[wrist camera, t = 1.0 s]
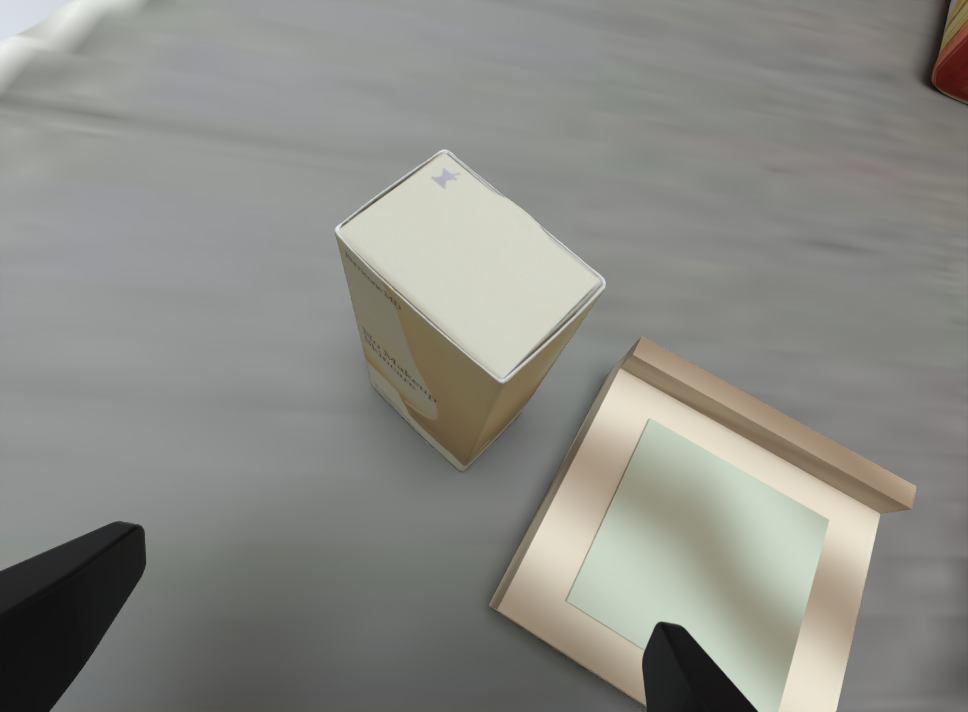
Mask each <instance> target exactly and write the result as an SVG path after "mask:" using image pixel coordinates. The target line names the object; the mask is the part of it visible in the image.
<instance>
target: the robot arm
mask: <svg viewBox="0 0 968 712" xmlns="http://www.w3.org/2000/svg"><path fill="white" fill-rule="evenodd" d="M145 566H146V548H145V532H144V529H143V527H142V526H141V525H139V524H133V523H128V522H122V521H117V522H113V523H110V524H108V525H106V526H103V527H101V528H99V529H97V530H94V531H92V532H90V533H87V534H85V535H83V536H80V537H78V538H76V539H73V540H71V541H69V542H67V543H64V544H62V545H60V546H57V547H55V548H53V549H50V550H48V551H46V552H43V553H41V554H39V555H36V556H34V557H32V558H30V559H27V560H25V561H23V562H20V563H18V564H16V565H13V566H11V567H9V568H6V569H4V570H2V571H0V712H50V710H51V709H52V708H53V706H54V705H55V704H56V702H57V701H58V700H59V699H60V697H61V696H62V695H63V693H64V692H65V691H66V689H67V688H68V687H69V686H70V684H71V683H72V682H73V680H74V679H75V678H76V676H77V675H78V674H79V672H80V671H81V670H82V668H83V667H84V665H85V664H86V662H87V661H88V659H89V658H90V656H91V655H92V654H93V652H94V651H95V649H96V647H97V646H98V644H99V643H100V641H101V640H102V638H103V636H104V635H105V633H106V632H107V630H108V629H109V627H110V625H111V624H112V622H113V621H114V619H115V618H116V616H117V614H118V613H119V611H120V610H121V608H122V607H123V605H124V603H125V602H126V600H127V599H128V597H129V596H130V594H131V592H132V591H133V589H134V588H135V586H136V585H137V583H138V582H139V580H140V578H141V577H142V575H143V572H144V570H145ZM642 673H643V681H644V690H645V698H646V707H647V712H758V710H757V709H756V708H755V707H754V706H753V705H752V704H751V702H750V701H749V700H748V699H747V698H746V697H745V696H744V695H743V693H742V692H741V691H740V690H739V689H738V688H737V687H736V685H735V684H734V683H733V682H732V681H731V680H730V679H729V678H728V676H727V675H726V674H725V673H724V672H723V671H722V670H721V668H720V667H719V666H718V665H717V664H716V663H715V662H714V661H713V659H712V658H711V657H710V656H709V655H708V654H707V653H706V651H705V650H704V649H703V648H702V647H701V646H700V645H699V644H698V642H697V641H696V640H695V639H694V638H693V637H692V636H691V634H690V633H689V632H688V631H687V630H686V629H685V628H684V627H683V626H681V625H679V624H674V623H669V622H663V621H660V622H658V623H657V624H656V625H655V627H654V629H653V631H652V634H651V636H650V639H649V641H648V643H647V646H646V648H645V651H644V653H643V658H642Z"/></svg>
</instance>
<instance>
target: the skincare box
mask: <svg viewBox="0 0 968 712" xmlns="http://www.w3.org/2000/svg"><path fill="white" fill-rule="evenodd" d="M335 235H336V239H337V242H338V246H339V250H340V254H341V258H342V263H343V266H344V271H345V275H346V279H347V283H348V287H349V291H350V296H351V300H352V304H353V308H354V312H355V317H356V321H357V325H358V330H359V333H360V338H361V342H362V346H363V350H364V354H365V359H366V363H367V367H368V372H369V375H370V380H371V384H372V386H373V387H374V388H375V389H376V390H377V391H378V392H379V393H380V394H381V395H382V396H383V398H384V399H385V400H386V401H387V402H388V403H389V404H390V405H391V406H392V407H393V408H394V409H395V410H396V411H397V412H398V413H399V414H400V415H401V416H402V417H403V418H404V419H405V420H406V421H407V422H408V423H409V424H410V425H411V426H412V427H413V428H414V429H415V430H416V431H417V432H418V433H419V434H420V435H421V436H422V437H423V438H424V439H425V440H427V441H428V442H429V443H430V444H431V445H432V446H433V447H434V448H435V449H436V450H437V451H439V452H440V453H441V454H442V455H443V456H444V457H445V458H446V459H447V460H448V461H449V462H451V463H452V464H453V465H454V466H455V467H456V468H457V469H458V470H460V471H464V470H466V469H467V468H468V467H469V466H470V465H471V464H472V463H473V462H474V461H475V460H476V459H477V458H478V457H479V456H480V455H481V454H482V453H483V452H484V451H485V450H486V449H487V448H488V447H489V446H490V445H491V444H492V443H493V442H494V441H495V440H496V439H497V438H498V437H499V436H500V435H501V434H502V432H503V431H504V430H505V429H506V428H507V427H508V426H509V425H510V424H511V423H512V422H513V421H514V420H515V419H516V418H517V416H518V415H519V414H520V413H521V411H522V410H523V408H524V407H525V405H526V404H527V402H528V401H529V400H530V398H531V397H532V395H533V394H534V392H535V391H536V389H537V388H538V386H539V385H540V383H541V382H542V380H543V379H544V377H545V376H546V374H547V373H548V371H549V370H550V369H551V367H552V366H553V364H554V363H555V361H556V360H557V358H558V357H559V355H560V354H561V352H562V351H563V349H564V348H565V346H566V345H567V343H568V342H569V340H570V339H571V337H572V336H573V334H574V333H575V332H576V330H577V329H578V327H579V326H580V324H581V323H582V321H583V320H584V318H585V317H586V315H587V314H588V312H589V311H590V309H591V308H592V307H593V305H594V304H595V302H596V301H597V299H598V298H599V296H600V295H601V294H602V292H603V291H604V289H605V288H606V282H605V280H604V278H603V277H602V276H601V275H600V274H599V273H597V272H596V271H595V270H593V269H592V268H591V267H590V266H588V265H587V264H586V263H585V262H584V261H583V260H581V259H580V258H579V257H578V256H576V255H575V254H574V253H573V252H571V251H570V250H569V249H568V248H567V247H566V246H564V245H563V244H562V243H561V242H560V241H558V240H557V239H556V238H555V237H553V236H552V235H551V234H550V233H548V232H547V231H546V230H545V229H544V228H543V227H542V226H541V225H540V224H538V223H537V222H536V221H535V220H534V219H533V218H532V217H531V216H530V215H529V214H528V213H526V212H525V211H524V210H523V209H522V208H520V207H519V206H517V205H516V204H515V203H513V202H512V201H510V200H509V199H508V198H506V197H505V196H503V195H502V194H501V193H500V192H498V191H497V190H496V189H495V188H493V187H492V186H491V185H490V184H489V183H487V182H486V181H485V180H484V179H482V178H481V177H480V176H479V175H477V174H476V173H475V172H474V171H473V170H471V169H470V168H469V167H468V166H467V165H465V164H464V163H463V162H462V161H460V160H459V159H458V158H457V157H456V156H454V155H453V154H452V153H451V152H450V151H448V150H444V149H443V150H441V151H439V152H438V153H436V154H435V155H434V156H432V157H431V158H430V159H429V160H427V161H426V162H424V163H422V164H421V165H419V166H418V167H417V168H415V169H414V170H412V171H411V172H409V173H408V174H406V175H405V176H403V177H402V178H401V179H399V180H398V181H397V182H395V183H394V184H392V185H391V186H389V187H388V188H387V189H385V190H384V191H382V192H381V193H379V194H378V195H377V196H375V197H374V198H373V199H371V200H370V201H368V202H367V203H366V204H364V205H363V206H362V207H361V208H359V209H358V210H357V211H356V212H354V213H353V214H352V215H351V216H350V217H348V218H347V219H346V220H344V221H343V222H341V223H340V224H339V225H338V226H337V227H336V228H335Z"/></svg>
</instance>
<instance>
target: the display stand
mask: <svg viewBox="0 0 968 712" xmlns="http://www.w3.org/2000/svg"><path fill="white" fill-rule="evenodd" d="M915 491H916V486H914V485H913V484H911V483H909V482H907V481H905V480H903V479H902V478H900V477H898V476H896V475H894V474H893V473H891V472H889V471H887V470H885V469H883V468H882V467H880V466H878V465H876V464H874V463H872V462H871V461H869V460H867V459H865V458H863V457H861V456H860V455H858V454H856V453H854V452H852V451H851V450H849V449H847V448H845V447H843V446H841V445H840V444H838V443H836V442H834V441H832V440H830V439H829V438H827V437H825V436H823V435H821V434H820V433H818V432H816V431H814V430H812V429H810V428H809V427H807V426H805V425H803V424H801V423H799V422H798V421H796V420H794V419H792V418H790V417H788V416H787V415H785V414H783V413H781V412H779V411H778V410H776V409H774V408H772V407H770V406H768V405H767V404H765V403H763V402H761V401H759V400H757V399H756V398H754V397H752V396H750V395H748V394H747V393H745V392H743V391H741V390H739V389H737V388H736V387H734V386H732V385H730V384H728V383H726V382H725V381H723V380H721V379H719V378H717V377H716V376H714V375H712V374H710V373H708V372H706V371H705V370H703V369H701V368H699V367H697V366H695V365H694V364H692V363H690V362H688V361H686V360H684V359H683V358H681V357H679V356H677V355H675V354H674V353H672V352H670V351H668V350H666V349H664V348H663V347H661V346H659V345H657V344H655V343H653V342H652V341H650V340H648V339H646V338H644V337H643V336H642V337H641V338H640V339H639V340H638V341H637V342H636V343H635V344H634V346H633V347H632V348H631V349H630V350H629V351H628V352H627V353H626V355H625V356H624V357H623V358H622V359H621V360H620V361H619V362H618V364H617V365H616V366H615V367H614V368H613V369H612V370H611V371H610V373H609V374H608V375H607V377H606V379H605V381H604V383H603V385H602V387H601V388H600V390H599V392H598V394H597V396H596V398H595V400H594V402H593V404H592V406H591V408H590V410H589V412H588V414H587V416H586V417H585V419H584V421H583V423H582V425H581V427H580V429H579V431H578V433H577V435H576V437H575V439H574V441H573V443H572V445H571V447H570V448H569V450H568V452H567V454H566V456H565V458H564V460H563V462H562V464H561V466H560V468H559V470H558V472H557V474H556V476H555V477H554V479H553V481H552V483H551V485H550V487H549V489H548V491H547V493H546V495H545V497H544V499H543V501H542V503H541V505H540V507H539V508H538V510H537V512H536V514H535V516H534V518H533V520H532V522H531V524H530V526H529V528H528V530H527V532H526V534H525V536H524V538H523V539H522V541H521V543H520V545H519V547H518V549H517V551H516V553H515V555H514V557H513V559H512V561H511V563H510V565H509V567H508V568H507V570H506V572H505V574H504V576H503V578H502V580H501V582H500V584H499V586H498V588H497V590H496V592H495V594H494V596H493V598H492V599H491V601H490V603H489V605H488V606H490V607H491V608H493V609H494V610H496V611H498V612H499V613H501V614H502V615H504V616H505V617H507V618H508V619H510V620H512V621H513V622H515V623H516V624H518V625H519V626H521V627H522V628H524V629H526V630H527V631H529V632H530V633H532V634H533V635H535V636H536V637H538V638H539V639H541V640H543V641H544V642H546V643H547V644H549V645H550V646H552V647H553V648H555V649H557V650H558V651H560V652H561V653H563V654H564V655H566V656H567V657H569V658H571V659H572V660H574V661H575V662H577V663H578V664H580V665H581V666H583V667H585V668H586V669H588V670H589V671H591V672H592V673H594V674H595V675H597V676H598V677H600V678H602V679H603V680H605V681H606V682H608V683H609V684H611V685H612V686H614V687H616V688H617V689H619V690H620V691H622V692H623V693H625V694H626V695H628V696H630V697H631V698H633V699H634V700H636V701H637V702H639V703H640V704H642V705H643V706H645V707H646V698H645V690H644V681H643V673H642V658H643V653H644V651H645V648H646V646H647V643H648V641H649V639H650V636H651V634H652V631H653V629H654V627H655V625H656V624H657V623H658V622H660V621H663V622H669V623H674V624H679V625H681V626H683V627H684V628H685V629H686V630H687V631H688V632H689V633H690V634H691V636H692V637H693V638H694V639H695V640H696V641H697V642H698V644H699V645H700V646H701V647H702V648H703V649H704V650H705V651H706V653H707V654H708V655H709V656H710V657H711V658H712V659H713V661H714V662H715V663H716V664H717V665H718V666H719V667H720V668H721V670H722V671H723V672H724V673H725V674H726V675H727V676H728V678H729V679H730V680H731V681H732V682H733V683H734V684H735V685H736V687H737V688H738V689H739V690H740V691H741V692H742V693H743V695H744V696H745V697H746V698H747V699H748V700H749V701H750V702H751V704H752V705H753V706H754V707H755V708H756V709H757V710H758V712H836V709H837V705H838V700H839V696H840V691H841V687H842V683H843V678H844V674H845V669H846V665H847V660H848V656H849V651H850V647H851V642H852V638H853V633H854V629H855V625H856V620H857V616H858V611H859V607H860V602H861V598H862V593H863V589H864V584H865V580H866V575H867V571H868V567H869V562H870V558H871V553H872V549H873V544H874V540H875V535H876V531H877V526H878V522H879V518H880V514H881V513H889V512H896V511H903V510H910V509H912V506H913V501H914V496H915Z"/></svg>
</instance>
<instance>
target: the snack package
mask: <svg viewBox="0 0 968 712" xmlns="http://www.w3.org/2000/svg"><path fill="white" fill-rule="evenodd" d="M932 83H933V85H934V86H935V87H936V88H937V89H938V90H939V91H941V92H942V93H944V94H945V95H947V96H949V97H951V98H954V99H956V100H959V101H961V102H963V103H966V104H968V0H951V3H950V7H949V12H948V17H947V22H946V26H945V30H944V35H943V39H942V44H941V49H940V52H939V56H938V59H937V61H936V64H935V66H934V69H933V72H932Z"/></svg>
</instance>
